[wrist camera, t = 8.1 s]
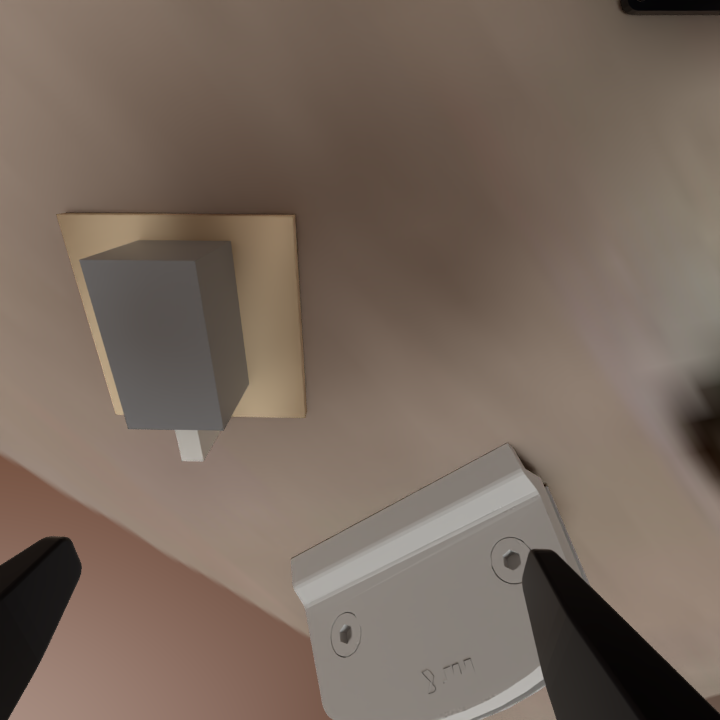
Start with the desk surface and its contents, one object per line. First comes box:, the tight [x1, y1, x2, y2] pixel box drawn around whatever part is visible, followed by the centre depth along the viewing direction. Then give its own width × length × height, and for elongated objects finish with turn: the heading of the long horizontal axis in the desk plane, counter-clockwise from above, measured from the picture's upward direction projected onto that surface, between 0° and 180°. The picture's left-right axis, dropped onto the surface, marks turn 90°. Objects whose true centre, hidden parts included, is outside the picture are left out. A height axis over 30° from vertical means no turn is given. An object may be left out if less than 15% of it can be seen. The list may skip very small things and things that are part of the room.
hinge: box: [291, 443, 590, 720], centre depth 23 cm, size 17×5×10 cm, turn 127°
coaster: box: [56, 213, 307, 418], centre depth 20 cm, size 10×10×1 cm
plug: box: [79, 240, 249, 461], centre depth 18 cm, size 4×9×4 cm
